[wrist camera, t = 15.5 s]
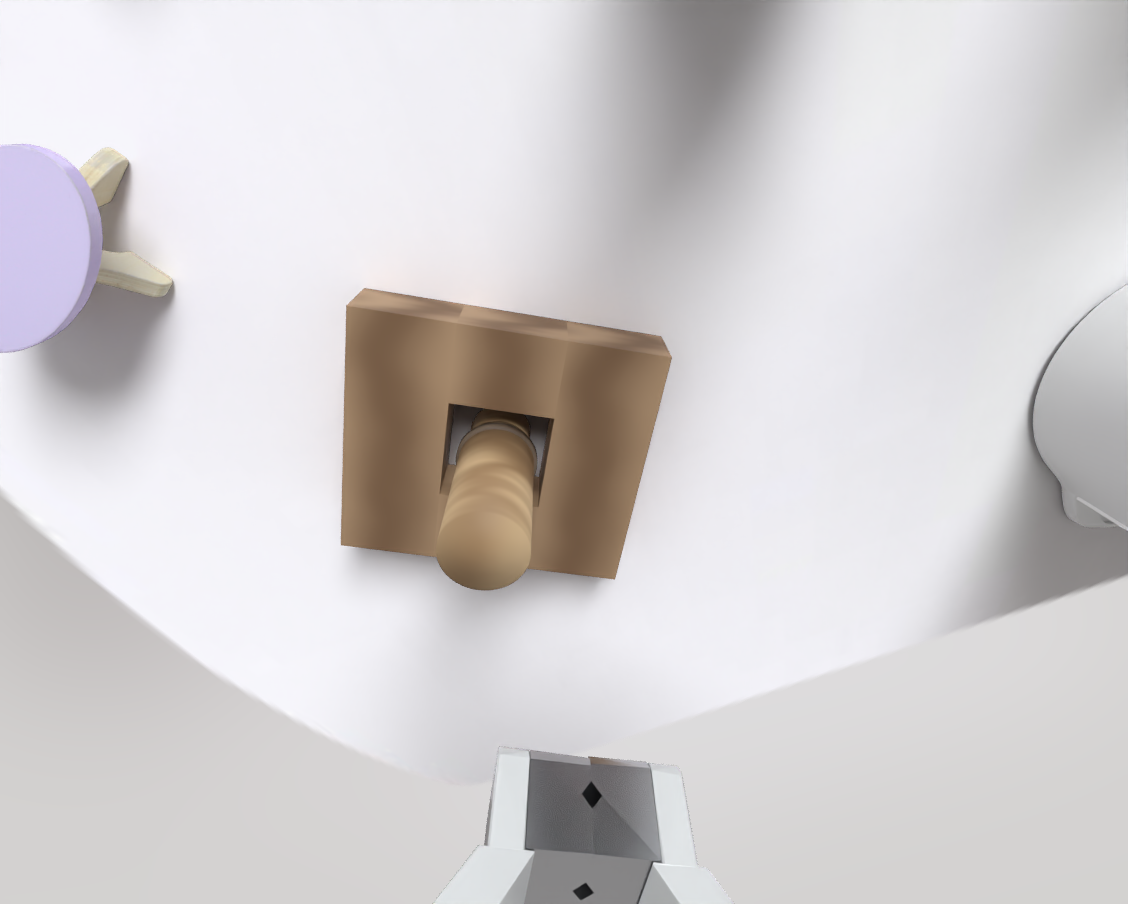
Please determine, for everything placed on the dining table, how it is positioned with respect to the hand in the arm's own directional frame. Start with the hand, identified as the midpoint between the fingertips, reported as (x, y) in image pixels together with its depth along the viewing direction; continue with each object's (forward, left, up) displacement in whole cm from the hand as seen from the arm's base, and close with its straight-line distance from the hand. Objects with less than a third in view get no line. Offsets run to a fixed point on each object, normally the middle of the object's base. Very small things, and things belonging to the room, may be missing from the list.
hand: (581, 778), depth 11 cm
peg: (+2, +7, -28) cm, 29 cm away
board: (+2, +7, -28) cm, 29 cm away
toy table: (+24, 0, -28) cm, 37 cm away
